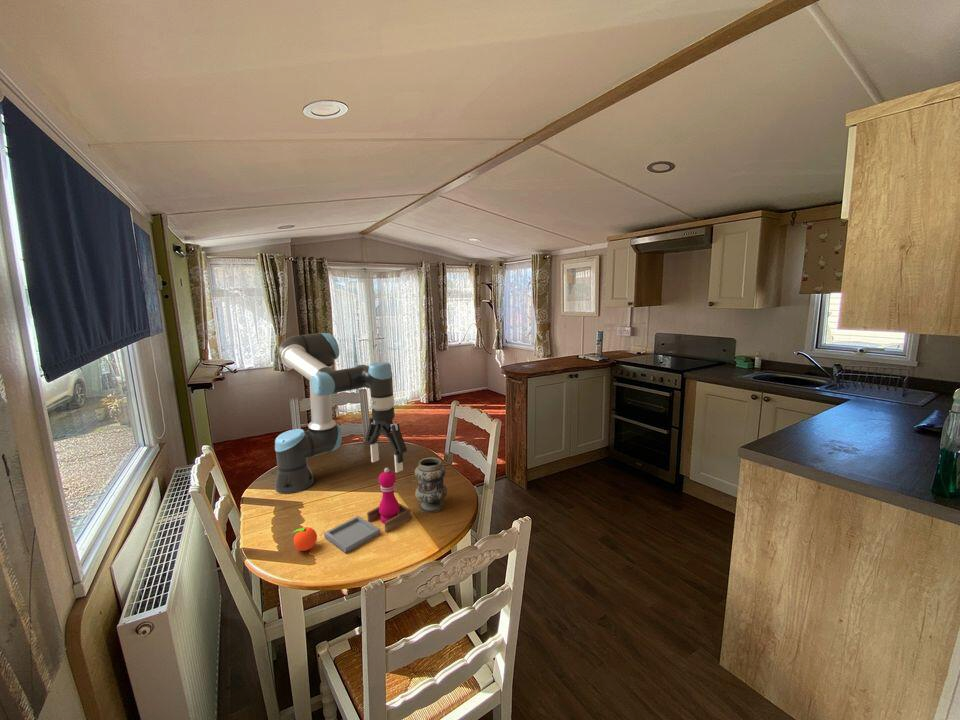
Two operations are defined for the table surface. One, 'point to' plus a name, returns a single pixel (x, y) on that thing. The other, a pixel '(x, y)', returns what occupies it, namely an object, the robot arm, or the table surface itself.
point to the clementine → (305, 538)
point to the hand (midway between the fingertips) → (386, 466)
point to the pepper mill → (388, 496)
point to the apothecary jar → (430, 485)
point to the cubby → (393, 522)
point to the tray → (351, 534)
